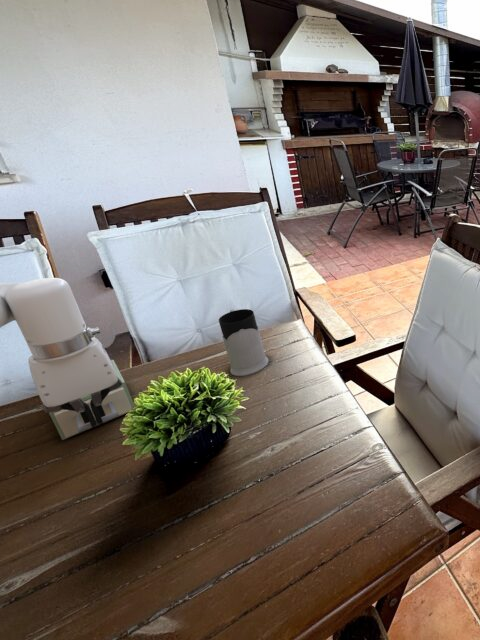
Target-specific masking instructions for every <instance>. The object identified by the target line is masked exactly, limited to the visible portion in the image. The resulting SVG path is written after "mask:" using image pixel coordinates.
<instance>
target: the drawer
mask: <svg viewBox="0 0 480 640" xmlns="http://www.w3.org/2000/svg"><path fill="white" fill-rule="evenodd" d="M90 401H91V399H89V400H87V401H84V403H87V404H89V406H90V403H91V402H90ZM101 405H102V407H103V410H104V412H105V414H106V416H103V417H101V418H102V421H103V423H102V424H105V423H107V422H110V421H112V420H114V419H116V417H117V418H119V417H120V416H119V415H121V414H124V413H126V412H128V413H130V412H129V411H130V410H131V409H132V408H131V405H130V403H129V401H128V398H127V396H126V393H125V391H124V389H123V387H121V388H116V389H115V390H113V391H110V392H109V393H108V395H107V396H106V397H105V399H104V400H103V401H102V404H101ZM90 409H91V406H90ZM91 411H92V409H91ZM92 413H93V412H92ZM126 414H127V413H126ZM54 415H55V418H56V420H57V422H58V424H59V426H60V428H61V430H62V432H63V434H64V436H65V437H69V436H71V435H74V434H76V433H78V432H79V433H78V434H81V433H84V432H85V431H88V430H90V429H93V428H95V427H98V426H100V425H101V424H98V423H97V421H96V424H97V425H96V426H94V427H93V428H92V426H91V424H90V422H89V423H86V424H85V423H84V421H83V419H82V416H81V414H80V413H77V412H76V411H71V410H64V409H62V410H59V411H58V412H55V413H54ZM93 415H94V414H93ZM124 415H125V414H124ZM121 416H122V415H121ZM94 418H95V416H94ZM95 420H96V418H95ZM104 422H105V423H104ZM80 432H81V433H80ZM76 435H77V434H76ZM74 436H75V435H74ZM71 437H72V436H71ZM69 438H70V437H69Z"/></svg>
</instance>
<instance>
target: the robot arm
mask: <svg viewBox="0 0 480 640" xmlns="http://www.w3.org/2000/svg"><path fill="white" fill-rule="evenodd" d="M14 321H15V322H16V324H17V326H18V328H19V330H20V332H21V334H22V336H23V338H24V340H25V342H26V345H27V347H28V349H29V351H30V353H31V355H30V356H29V358H28V366H29V367H28V368H29V371H30V375H31V378H32V380H33V383H34V386H35V389H36V392H37V394H38V396H39V398H40V401H41V403H42V404H43V410H44V413H45V414H49V413H50V412H55V411H59V410H62V409H64V410H71V411H76V412H77V413H80V414H81V416H82V419H83V421H84V423H85V424H86V423H89V422H90V424H91V426H92V427H93V428H95V427H97V426H98V425H97V424H96V421H97V423H98V424H100V425H102V424H104V423H103V421H102V418H101V417H103V416H106V414H105V412H104V410H103V407H102V405H101V404H102V401H103V400H104V399H105V397H106V396H107V395H108V393H109V392H110V391H113V390H115V389H116V388H118V387H120V386H121V385H122V382H121V380H120V379H119V378H118V377H117V375H116V372H115V369H114V367H113V364H112V362H111V360H112V359H110V356H109V354H108V352H107V350H106V348H105V347H104V345H103V344H102V343H101V341H100V340H99V339H98V338H97V337H95V336H97V335H101V330H100V328H99V326H98V327H87V325H86V322H85V319H84V317H83V315H82V312H81V310H80V307H79V305H78V303H77V300H76V298H75V296H74V293H73V291H72V288H71V286H70V284H69V282H68V281H66V279H63V278H60V277H45V278H43V277H42V278H37V279H31V280H28V281H23V282H0V329H1V328H2V327H4V326H6V325H8V324H10V323H11V322H14ZM90 394H91V398H92V399H91V401H90V402H91V403H90V406H91V409H92V411H91V409H90V406H89V404H87V403H84V402H83V401H82V400H81V398H82V397H85V396H87V395H90ZM92 412H93V413H92ZM93 414H94V415H93ZM94 416H95V418H96V420H95V418H94ZM96 425H97V426H96ZM94 426H95V427H94Z"/></svg>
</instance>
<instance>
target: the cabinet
mask: <svg viewBox="0 0 480 640" xmlns="http://www.w3.org/2000/svg"><path fill="white" fill-rule="evenodd" d="M110 360H111V362H112V364H113V367H114V369H115V372H116V375H117V377H118V378H119V379H120V380H121V382H122V385H121V386H120V387H118V388H121V387H123V389H124V391H125V393H126V396H127V398H128V401H129V403H130V405H131V408H132V409H133V408H134V406H135V404H134V401H133V398H132V396H131V393H130V391H129V388H128V386H127V384H126V382H125V379H124V377H123V376H122V373H121V372H120V370H119V368H118V365H117V364H116V361H115V360H114V359H110ZM90 398H91V394H90V395H87V396H85V397H82V398H81V400H82V401H85V400H87V399H90ZM55 412H58V411H55ZM55 412H50V413H48V414H49V416H50V418H51V420H52V422H53V424H54V426H55V429H56V431H57V433H58V434H59V436H60V438H61V440H62V441H64V440H66V439H68V438H71V437H73V436H77V435H78V434H81V433H82V432H80V433H79V432H78V433H76V434H74V435H71V436H69V437H65V436H64V434H63V432H62V430H61V428H60V426H59V424H58V422H57V420H56V418H55V415H54V413H55ZM128 413H129V412H126V413H124V414H121V415H119V417H121V416H124V415H126V414H128ZM116 418H118V417H116ZM116 418H115V419H116ZM105 423H106V422H104V423H103V424H105ZM93 428H94V427H92V428H91V429H93Z"/></svg>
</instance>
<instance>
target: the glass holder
mask: <svg viewBox="0 0 480 640" xmlns="http://www.w3.org/2000/svg"><path fill="white" fill-rule="evenodd" d="M218 323H219V327H220V329H221V330H220V331H221V334H222V340H223V344H224V346H225V350H226V355H227V358H228V360H229V365H230V370H229V371H230V374H231V375H233V376H237V377H243V376H244V377H245V376H249V375H251V374H254V373H255V374H256V373H257V372H259V371H261V370H262V369H264V368H265V367H266V366H267V365H268V364H269V358H268V357H267V355H266V351H265V349H264V345H263V341H262V336H261V333H260V330H259V326H258V325H257V320H256V315H255V313H254V311H253V310H252V309H250V308H249V309H248V308H243V309H235V310H234V309H233V308H232V309H229V312H227V313H224V314H223V315H221V316H220V317H219V318H218Z"/></svg>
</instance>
